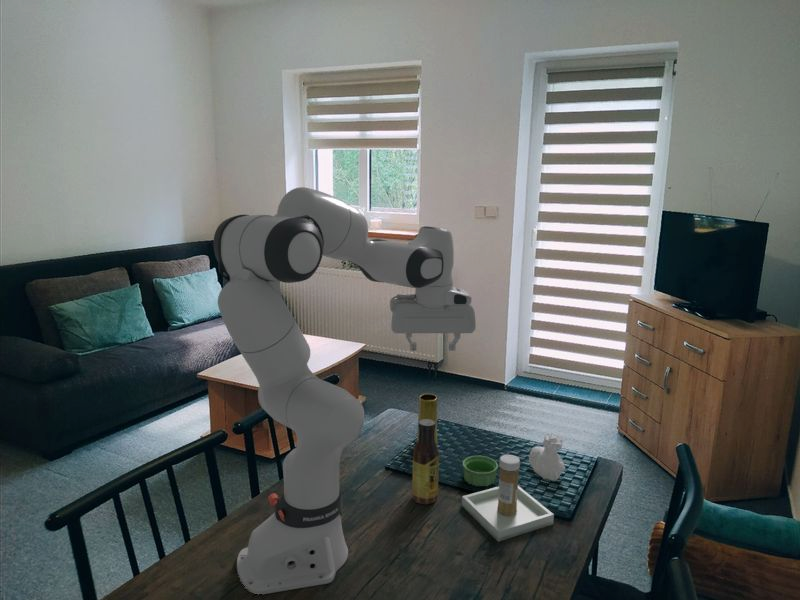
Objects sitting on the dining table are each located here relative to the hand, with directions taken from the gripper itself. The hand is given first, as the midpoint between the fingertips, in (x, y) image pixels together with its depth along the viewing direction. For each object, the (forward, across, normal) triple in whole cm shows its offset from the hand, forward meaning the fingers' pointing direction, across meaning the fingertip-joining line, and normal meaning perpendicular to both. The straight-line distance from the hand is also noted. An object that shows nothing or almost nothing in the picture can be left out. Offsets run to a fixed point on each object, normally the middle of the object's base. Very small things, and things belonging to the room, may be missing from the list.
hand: (432, 350), depth 145 cm
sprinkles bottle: (+34, +17, -15) cm, 41 cm away
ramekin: (+35, +13, 0) cm, 38 cm away
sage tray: (+35, +17, -16) cm, 42 cm away
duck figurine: (+35, +32, +3) cm, 47 cm away
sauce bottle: (+35, -2, -8) cm, 36 cm away
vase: (+35, +1, +20) cm, 41 cm away
